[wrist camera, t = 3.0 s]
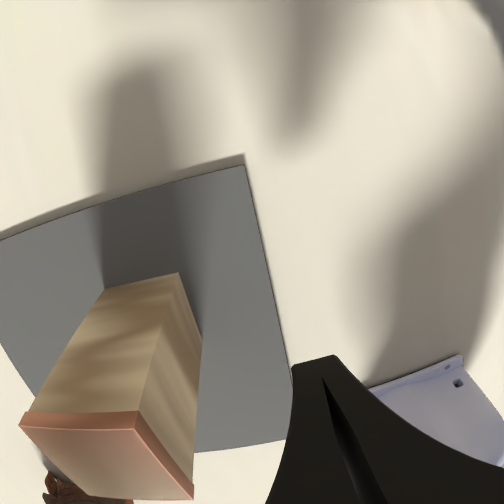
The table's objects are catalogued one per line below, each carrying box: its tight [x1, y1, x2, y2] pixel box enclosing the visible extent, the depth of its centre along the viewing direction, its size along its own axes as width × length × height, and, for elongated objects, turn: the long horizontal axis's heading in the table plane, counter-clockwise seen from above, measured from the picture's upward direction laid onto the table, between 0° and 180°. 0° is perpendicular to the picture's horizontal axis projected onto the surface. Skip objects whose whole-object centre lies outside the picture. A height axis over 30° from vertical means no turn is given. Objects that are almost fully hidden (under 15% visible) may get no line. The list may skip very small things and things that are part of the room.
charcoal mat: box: [0, 165, 293, 453], centre depth 17 cm, size 18×18×1 cm
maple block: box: [19, 272, 203, 500], centre depth 11 cm, size 4×4×9 cm
